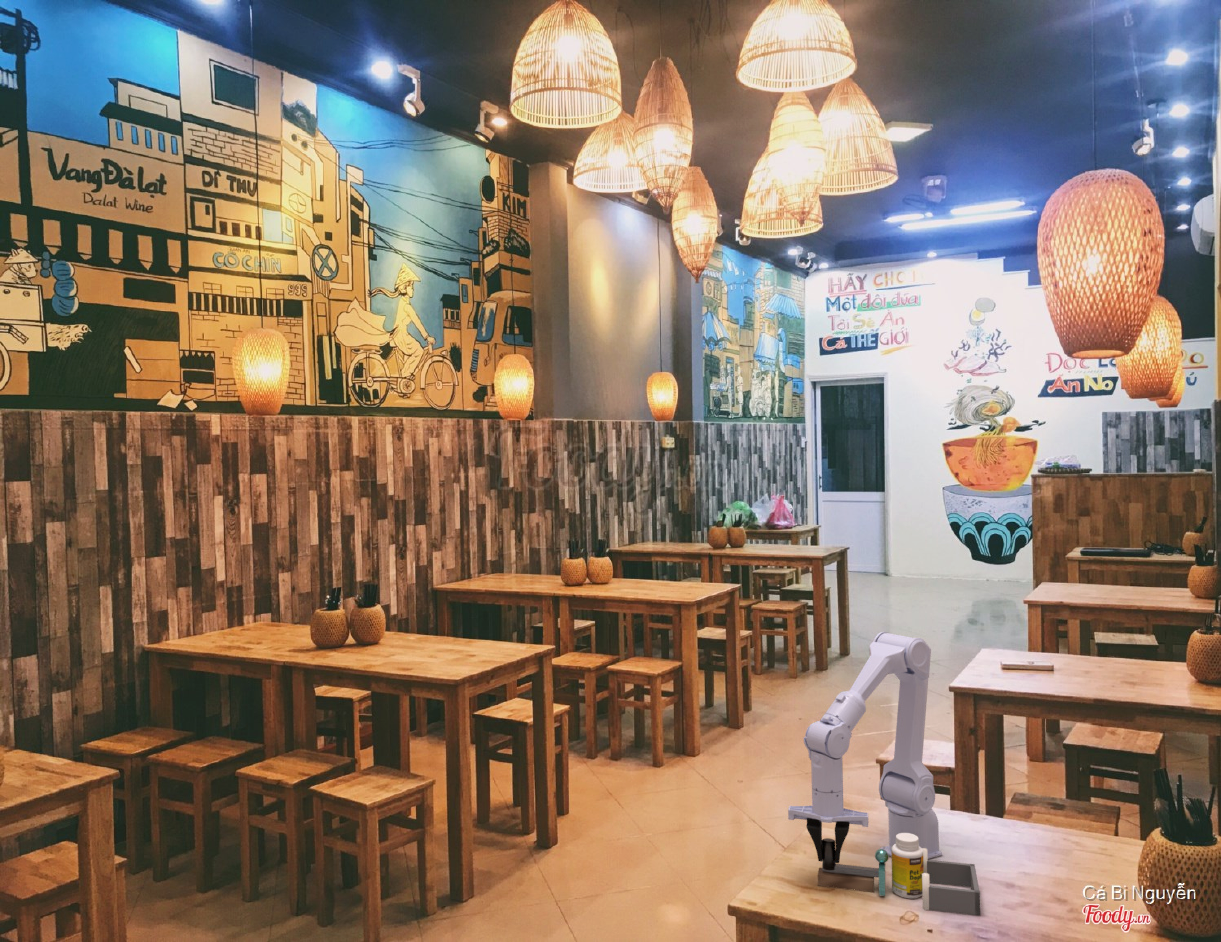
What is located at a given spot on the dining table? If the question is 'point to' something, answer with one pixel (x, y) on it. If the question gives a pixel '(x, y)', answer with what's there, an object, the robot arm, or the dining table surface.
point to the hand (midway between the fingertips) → (828, 860)
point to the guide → (845, 881)
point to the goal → (947, 896)
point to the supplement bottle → (907, 866)
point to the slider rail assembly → (831, 866)
